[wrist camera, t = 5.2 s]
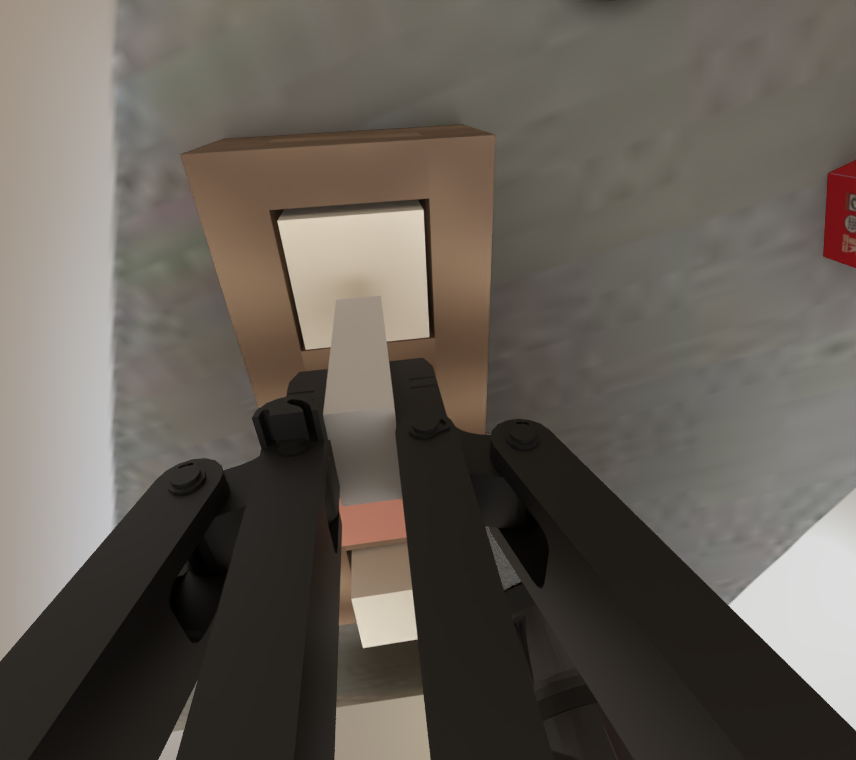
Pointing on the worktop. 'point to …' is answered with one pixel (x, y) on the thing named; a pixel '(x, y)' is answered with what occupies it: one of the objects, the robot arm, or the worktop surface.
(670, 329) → the worktop surface
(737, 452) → the worktop surface
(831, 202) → the food packaging
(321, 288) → the near button
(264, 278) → the mount
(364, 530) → the middle button
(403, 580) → the far button
